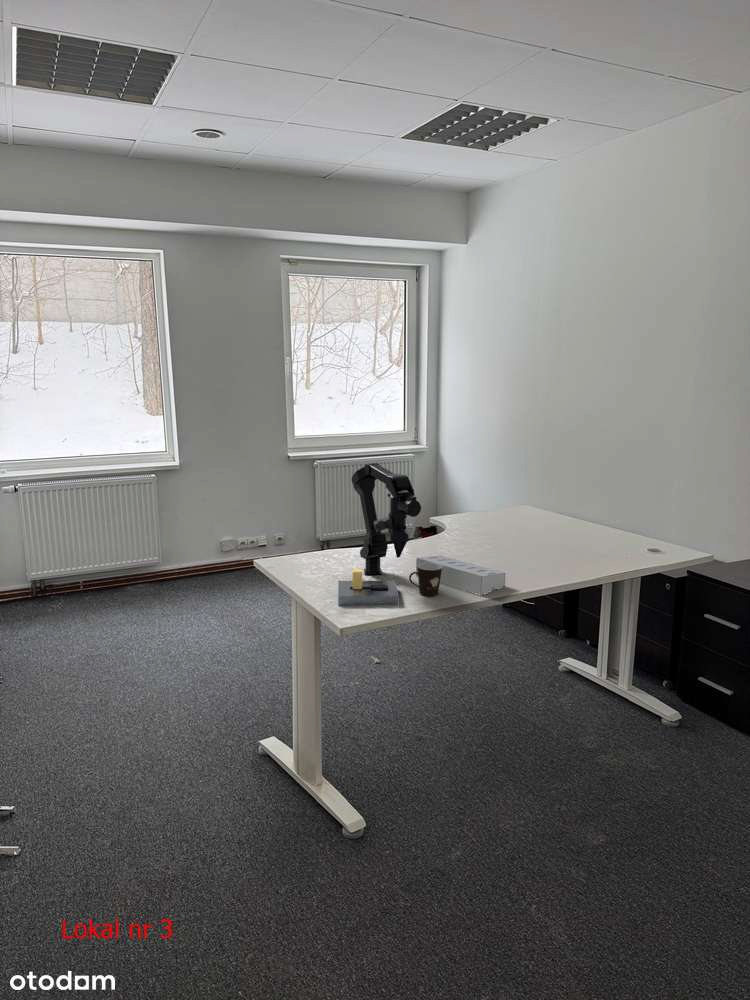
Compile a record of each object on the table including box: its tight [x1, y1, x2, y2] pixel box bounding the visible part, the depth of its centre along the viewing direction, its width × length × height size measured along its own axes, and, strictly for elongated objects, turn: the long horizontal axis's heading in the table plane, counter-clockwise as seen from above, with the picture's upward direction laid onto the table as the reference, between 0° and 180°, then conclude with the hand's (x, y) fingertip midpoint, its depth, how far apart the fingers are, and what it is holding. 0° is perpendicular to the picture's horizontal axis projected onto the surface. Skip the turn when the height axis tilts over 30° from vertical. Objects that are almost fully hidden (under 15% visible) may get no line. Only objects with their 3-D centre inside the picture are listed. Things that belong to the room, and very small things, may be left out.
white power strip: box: [415, 555, 506, 595], centre depth 256 cm, size 30×14×8 cm, turn 45°
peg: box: [352, 568, 363, 590], centre depth 238 cm, size 4×4×10 cm
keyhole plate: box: [337, 580, 400, 606], centre depth 238 cm, size 16×20×3 cm
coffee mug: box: [408, 563, 442, 598], centre depth 242 cm, size 12×9×10 cm
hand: (397, 553), depth 248 cm, fingers open, 9 cm apart
